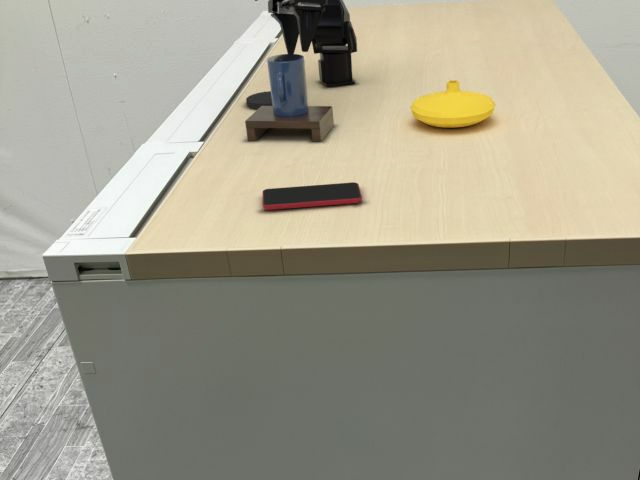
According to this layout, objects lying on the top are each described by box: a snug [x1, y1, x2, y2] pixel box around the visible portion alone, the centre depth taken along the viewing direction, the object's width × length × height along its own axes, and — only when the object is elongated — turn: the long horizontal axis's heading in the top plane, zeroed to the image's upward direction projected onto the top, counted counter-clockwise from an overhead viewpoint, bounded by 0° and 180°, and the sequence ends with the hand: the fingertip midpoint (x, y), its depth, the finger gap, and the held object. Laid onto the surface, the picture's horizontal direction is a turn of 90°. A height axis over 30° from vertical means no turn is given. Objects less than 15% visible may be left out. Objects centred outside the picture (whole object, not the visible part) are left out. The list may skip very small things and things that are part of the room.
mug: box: [266, 53, 309, 117], centre depth 149 cm, size 8×7×9 cm
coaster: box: [245, 90, 272, 111], centre depth 171 cm, size 10×10×1 cm
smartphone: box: [262, 182, 363, 211], centre depth 126 cm, size 7×1×15 cm
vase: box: [410, 79, 496, 128], centre depth 152 cm, size 16×16×7 cm
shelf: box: [244, 105, 335, 143], centre depth 153 cm, size 10×14×4 cm
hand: (297, 53), depth 156 cm, fingers open, 9 cm apart
